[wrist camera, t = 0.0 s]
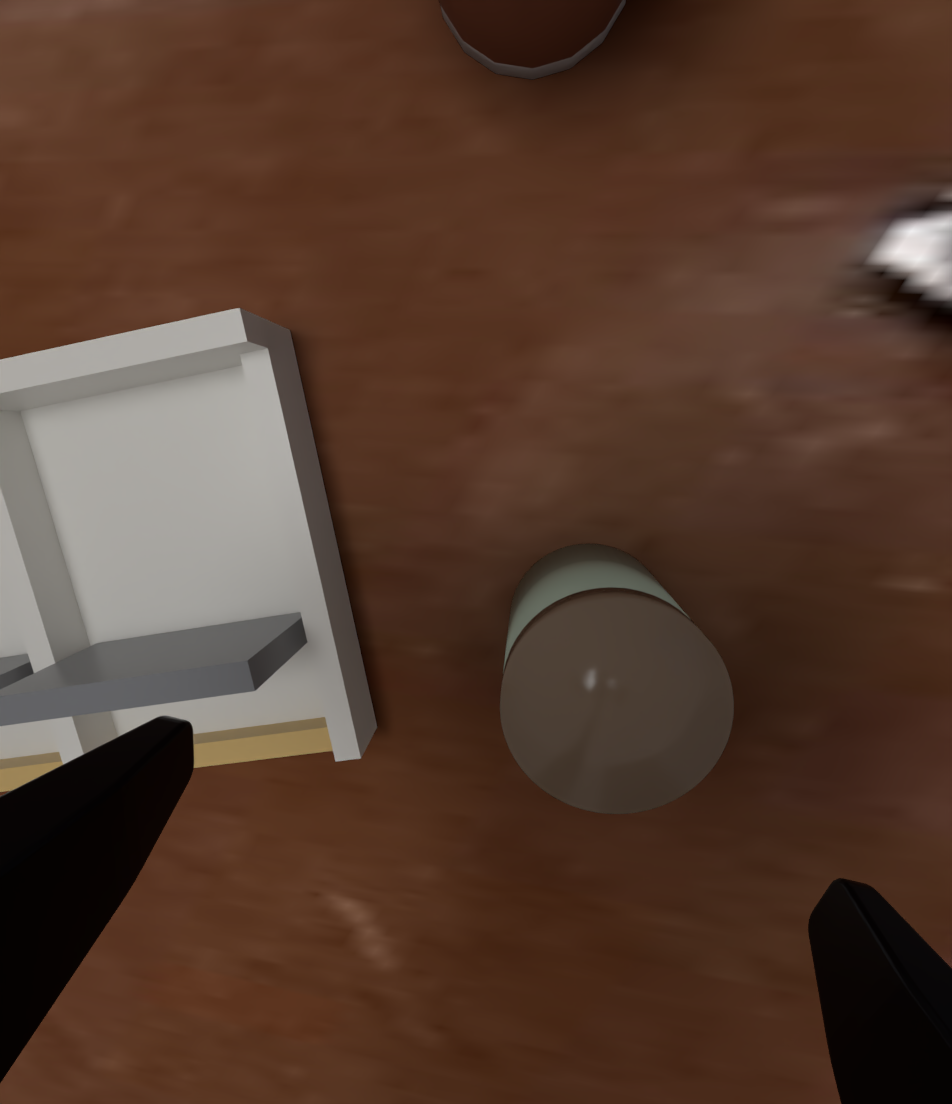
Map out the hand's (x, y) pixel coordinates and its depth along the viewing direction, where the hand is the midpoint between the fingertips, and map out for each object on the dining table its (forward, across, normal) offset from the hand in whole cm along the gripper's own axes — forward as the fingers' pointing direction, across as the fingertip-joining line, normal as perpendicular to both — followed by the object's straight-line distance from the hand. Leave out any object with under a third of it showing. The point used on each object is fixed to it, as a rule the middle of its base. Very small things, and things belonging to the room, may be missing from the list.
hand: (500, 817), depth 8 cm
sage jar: (+15, -3, +5) cm, 16 cm away
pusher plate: (+13, +12, +9) cm, 20 cm away
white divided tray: (+14, +18, +8) cm, 24 cm away
